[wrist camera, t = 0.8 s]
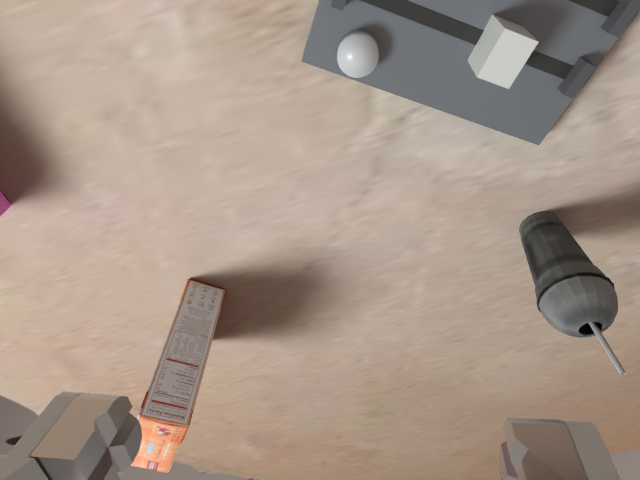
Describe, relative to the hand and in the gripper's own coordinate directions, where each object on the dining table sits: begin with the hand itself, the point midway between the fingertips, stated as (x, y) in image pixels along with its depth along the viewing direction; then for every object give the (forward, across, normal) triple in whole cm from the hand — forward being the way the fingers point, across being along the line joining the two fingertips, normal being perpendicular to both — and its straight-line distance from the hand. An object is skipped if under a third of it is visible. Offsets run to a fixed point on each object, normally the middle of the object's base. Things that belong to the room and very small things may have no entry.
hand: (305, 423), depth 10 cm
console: (+39, -8, -5) cm, 40 cm away
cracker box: (+44, +28, +33) cm, 62 cm away
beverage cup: (+45, -19, +19) cm, 52 cm away
